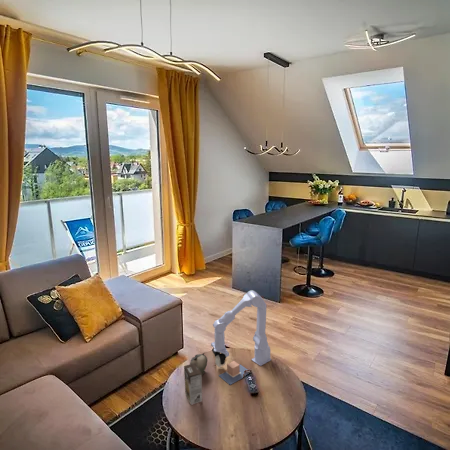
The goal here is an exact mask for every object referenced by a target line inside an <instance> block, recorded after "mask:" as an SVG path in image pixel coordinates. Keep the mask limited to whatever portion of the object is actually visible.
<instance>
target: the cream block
mask: <svg viewBox="0 0 450 450" xmlns="http://www.w3.org/2000/svg"><path fill="white" fill-rule="evenodd" d="M214 358H215V359H214V360H215V363H214V364H215V365H216V366H217V367H219V368H222V367H223V366H225V365H226V362H225V363H224V364H223V365H221V362H220V357H219V355H217V356H215V355H214Z"/></svg>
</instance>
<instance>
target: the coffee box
mask: <svg viewBox="0 0 450 450" xmlns="http://www.w3.org/2000/svg"><path fill="white" fill-rule="evenodd" d="M183 373H184V391H185V392H184V394H185V395H186V398H187V400H188V402H189V404H190V405H192V406H193V405H195V404H197V403H198V404H199V403H200V402H203V386H202V385H203V383H202V382H203V380H202V379H203V377H202V376H203V375H201V371H200V370H199V368H198V367H197V365H196V363H194V364H190V363H189V364H187V365H184V366H183Z"/></svg>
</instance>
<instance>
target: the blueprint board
mask: <svg viewBox="0 0 450 450" xmlns="http://www.w3.org/2000/svg"><path fill="white" fill-rule="evenodd" d="M238 364H239V363H238ZM239 365H240V373H238V374H236V375H235V376H232V375H230V374H229V373H228V372H227V370H226V371H224V372H223V373H221V374H219V375H218V377H219V378H221V380H223V381H224V382H225V383H227V384H228V385H229V386H231V385H234V384H235V383H236V382H238V381H241V380H242V379H244V378H243V374H244V371H245V370H249V369H247V368H246V367H245V366H243V365H242V364H239Z"/></svg>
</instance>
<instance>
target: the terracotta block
mask: <svg viewBox="0 0 450 450" xmlns="http://www.w3.org/2000/svg"><path fill="white" fill-rule="evenodd" d="M226 368H227V369H226V371H227V372H228V373H229V374H230V375H232V376H235V375H236V374H238V373H240V365H239V363H238V362H236V361H235V360H232V361H230V362H229V363H227V364H226Z"/></svg>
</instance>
